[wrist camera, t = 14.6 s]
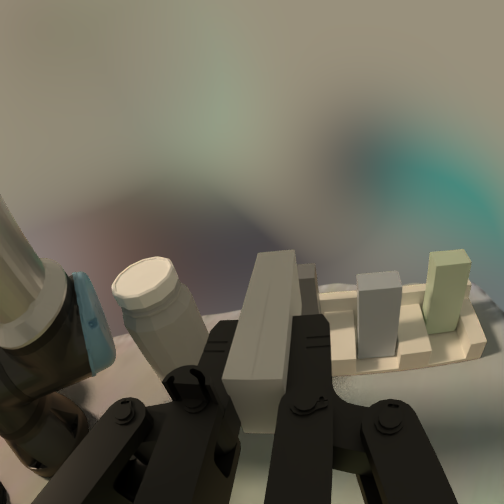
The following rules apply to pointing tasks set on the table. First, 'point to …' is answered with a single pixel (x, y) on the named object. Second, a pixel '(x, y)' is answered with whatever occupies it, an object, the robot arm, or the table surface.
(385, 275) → the key slate
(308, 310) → the key charcoal
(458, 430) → the table surface
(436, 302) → the key sage
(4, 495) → the electric shaver
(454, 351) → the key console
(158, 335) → the jar
